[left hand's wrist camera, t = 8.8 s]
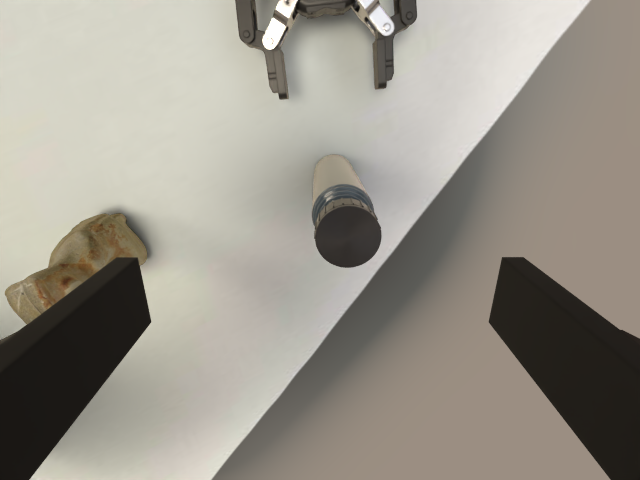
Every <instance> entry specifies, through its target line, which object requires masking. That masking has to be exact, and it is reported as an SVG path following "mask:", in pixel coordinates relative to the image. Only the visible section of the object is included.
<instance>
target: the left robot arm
mask: <svg viewBox="0 0 640 480" xmlns="http://www.w3.org/2000/svg"><path fill="white" fill-rule="evenodd" d="M150 323H151V318H150V313H149V309H148V304H147V299H146V294H145V289H144V285H143V280H142V275H141V270H140V265H139V260H138V257H116V258H115V259H114V260H112V261H111V262H110V263H108V264H107V265H106V266H104V267H103V268H102V269H100V270H99V271H98V272H96V273H95V274H94V275H92V276H91V277H90V278H88V279H87V280H86V281H84V282H83V283H82V284H80V285H79V286H78V287H76V288H75V289H74V290H72V291H71V292H70V293H69V294H67V295H66V296H65V297H63V298H62V299H61V300H59V301H58V302H57V303H55V304H54V305H53V306H51V307H50V308H49V309H47V310H46V311H45V312H43V313H42V314H41V315H39V316H38V317H37V318H35V319H34V320H33V321H31V322H30V323H29V324H27V325H26V326H25V327H23V328H22V329H21V330H19V331H18V332H16V333H14V334H12V335H10V336H8V337H6V338H4V339H2V340H0V480H29V479H30V478H31V477H32V475H33V474H34V473H35V472H36V470H37V469H38V468H39V466H40V465H41V464H42V463H43V461H44V460H45V459H46V457H47V456H48V455H49V453H50V452H51V451H52V450H53V448H54V447H55V446H56V444H57V443H58V442H59V441H60V439H61V438H62V437H63V435H64V434H65V433H66V432H67V430H68V429H69V428H70V426H71V425H72V424H73V423H74V421H75V420H76V419H77V417H78V416H79V415H80V413H81V412H82V411H83V410H84V408H85V407H86V406H87V404H88V403H89V402H90V401H91V399H92V398H93V397H94V395H95V394H96V393H97V392H98V390H99V389H100V388H101V386H102V385H103V384H104V382H105V381H106V380H107V379H108V377H109V376H110V375H111V373H112V372H113V371H114V370H115V368H116V367H117V366H118V364H119V363H120V362H121V361H122V359H123V358H124V357H125V355H126V354H127V353H128V352H129V350H130V349H131V348H132V346H133V345H134V344H135V342H136V341H137V340H138V339H139V337H140V336H141V335H142V333H143V332H144V331H145V330H146V328H147V327H148V326H149V324H150ZM489 323H490V324H491V326H492V327H493V328H494V330H495V331H496V332H497V333H498V335H499V336H500V337H501V339H502V340H503V341H504V342H505V344H506V345H507V346H508V348H509V349H510V350H511V352H512V353H513V354H514V355H515V357H516V358H517V359H518V360H519V362H520V363H521V364H522V366H523V367H524V368H525V370H526V371H527V372H528V373H529V375H530V376H531V377H532V379H533V380H534V381H535V382H536V384H537V385H538V386H539V388H540V389H541V390H542V392H543V393H544V394H545V395H546V397H547V398H548V399H549V401H550V402H551V403H552V404H553V406H554V407H555V408H556V410H557V411H558V412H559V413H560V415H561V416H562V417H563V419H564V420H565V421H566V422H567V424H568V425H569V426H570V428H571V429H572V430H573V432H574V433H575V434H576V435H577V437H578V438H579V439H580V441H581V442H582V443H583V444H584V446H585V447H586V448H587V450H588V451H589V452H590V453H591V455H592V456H593V457H594V459H595V460H596V461H597V462H598V464H599V465H600V466H601V468H602V469H603V470H604V472H605V473H606V474H607V475H608V477H609V478H610V479H611V480H640V339H639V338H637V337H635V336H633V335H631V334H629V333H627V332H625V331H623V330H619V329H618V328H617V327H615V326H614V325H613V324H611V323H610V322H609V321H607V320H606V319H605V318H603V317H602V316H601V315H599V314H598V313H597V312H595V311H594V310H593V309H591V308H590V307H589V306H587V305H586V304H585V303H583V302H582V301H581V300H579V299H578V298H577V297H575V296H574V295H573V294H571V293H570V292H569V291H567V290H566V289H565V288H564V287H562V286H561V285H560V284H558V283H557V282H556V281H554V280H553V279H551V278H550V277H549V276H548V275H546V274H545V273H544V272H542V271H541V270H540V269H538V268H537V267H536V266H534V265H533V264H532V263H530V262H529V261H528V260H526V259H525V258H524V257H502V260H501V265H500V270H499V275H498V280H497V285H496V289H495V294H494V299H493V304H492V309H491V313H490V318H489Z"/></svg>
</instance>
